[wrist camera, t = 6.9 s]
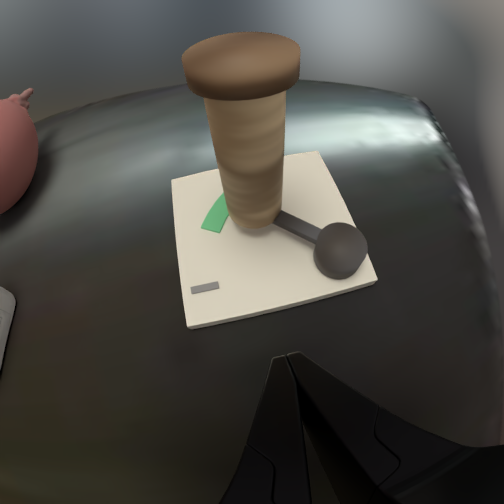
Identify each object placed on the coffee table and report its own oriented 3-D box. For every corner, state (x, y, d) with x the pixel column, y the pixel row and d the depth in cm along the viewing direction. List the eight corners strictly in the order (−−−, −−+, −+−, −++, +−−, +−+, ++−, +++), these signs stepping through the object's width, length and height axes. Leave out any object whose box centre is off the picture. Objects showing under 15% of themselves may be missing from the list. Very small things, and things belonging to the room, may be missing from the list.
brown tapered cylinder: (370, 240, 20) (444, 90, 8) (345, 297, 19) (442, 151, 6) (244, 181, 24) (226, 28, 12) (209, 227, 22) (157, 65, 10)
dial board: (316, 157, 26) (317, 149, 25) (373, 284, 20) (378, 278, 19) (174, 186, 26) (170, 178, 24) (190, 329, 19) (186, 326, 18)
